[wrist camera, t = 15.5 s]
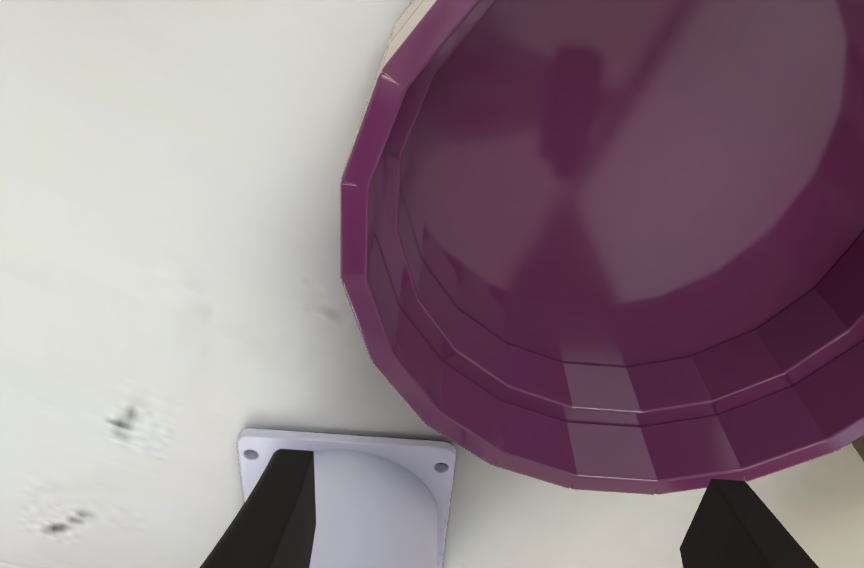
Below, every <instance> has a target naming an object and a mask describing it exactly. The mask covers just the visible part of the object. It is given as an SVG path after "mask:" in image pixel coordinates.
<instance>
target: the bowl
mask: <svg viewBox="0 0 864 568" xmlns="http://www.w3.org/2000/svg"><path fill="white" fill-rule="evenodd" d="M340 278H341V280H342V284H343V287H344V290H345V292H346V295H347V298H348V300H349V303H350V305H351V308H352V311H353V313H354V316H355V319H356V321H357V324H358V327H359V329H360V332H361V334H362V337H363V340H364V342H365V345H366V348H367V350H368V353H369V356H370V358H371V360H373V363H374V364H375V366H376V367H377V368H378V369H379V370H380V371H381V373H382V374H383V375H384V376H385V377H386V378H387V380H388V381H389V382H390V383H391V384H392V385H393V387H394V388H395V389H396V390H397V391H398V393H399V394H400V395H401V396H402V397H403V398H404V400H405V401H406V402H407V403H408V404H409V405H410V407H411V408H412V409H413V410H414V411H415V412H416V414H417V415H418V416H419V417H420V418H421V419H422V421H424V422H425V424H427V425H428V426H430V427H431V428H433V429H435V430H436V431H438V432H439V433H441V434H443V435H444V436H446V437H447V438H449V439H451V440H452V441H454V442H455V443H457V444H459V445H460V446H462V447H463V448H465V449H467V450H468V451H470V452H471V453H473V454H475V455H476V456H478V457H479V458H481V459H483V460H484V461H486V462H487V463H489V464H491V465H492V464H493V465H494V466H496V467H500V468H503V469H506V470H510V471H513V472H516V473H519V474H523V475H526V476H529V477H533V478H536V479H539V480H542V481H546V482H549V483H552V484H555V485H559V486H562V487H565V488H571V489H577V490H592V491H607V492H622V493H636V494H651V495H654V494H655V493H656V494H665V493H672V492H680V491H687V490H694V489H701V488H707V487H708V485H709V483H710V480H711V479H723V480H737V481H746V482H748V481H751V480H754V479H757V478H760V477H763V476H766V475H768V474H771V473H774V472H777V471H780V470H783V469H786V468H789V467H792V466H795V465H798V464H800V463H803V462H806V461H809V460H812V459H815V458H818V457H821V456H824V455H827V454H830V453H832V452H834V450H835V451H837V450H839V449H841V448H843V447H844V446H846V445H848V444H850V443H851V442H853V441H855V440H857V439H858V438H860V437H862V436H863V435H864V0H413V1H412V3H411V4H410V5H409V7H408V8H407V9H406V10H405V12H404V13H403V14H402V16H401V17H400V18H399V19H398V21H397V22H396V25H395V27H394V28H393V31H392V34H391V37H390V39H389V42H388V45H387V48H386V50H385V53H384V56H383V59H382V62H381V64H380V67H379V70H378V73H377V75H376V78H375V81H374V84H373V87H372V89H371V92H370V95H369V98H368V101H367V103H366V106H365V109H364V112H363V115H362V118H361V121H360V124H359V127H358V130H357V133H356V136H355V139H354V142H353V145H352V148H351V151H350V154H349V157H348V160H347V163H346V166H345V169H344V172H343V175H342V180H341V183H340Z"/></svg>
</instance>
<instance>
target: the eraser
mask: <svg viewBox="0 0 864 568" xmlns="http://www.w3.org/2000/svg"><path fill="white" fill-rule="evenodd" d="M851 443H852V445H853V446H854V448H855V449H856V451H857V452H858V454H859V455H860V456H861V458H862V459H863V461H864V435H863V436H862V437H860V438H858V439H857V440H855V441H853V442H851Z"/></svg>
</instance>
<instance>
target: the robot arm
mask: <svg viewBox="0 0 864 568" xmlns="http://www.w3.org/2000/svg"><path fill="white" fill-rule="evenodd" d="M237 450H238V458H239V466H240V474H241V483H242V491H243V499H244V505H243V506H242V508H241V509H240V511H239V513H238V514H237V516H236V517H235V519H234V520H233V521H232V523H231V524H230V526H229V527H228V529H227V530H226V532H225V533H224V535H223V536H222V537H221V539H220V540H219V542H218V543H217V545H216V546H215V548H214V549H213V550H212V552H211V553H210V555H209V556H208V557H207V559H206V560H205V561H204V563H203V564H202V565H201V567H200V568H442V560H443V553H444V545H445V538H446V530H447V523H448V515H449V508H450V500H451V493H452V485H453V478H454V470H455V463H456V448H455V447H454V446H453V445H452V444H450V443H448V442H444V441H429V440H415V439H400V438H386V437H371V436H357V435H342V434H328V433H313V432H299V431H284V430H270V429H255V428H249V429H244V430H242V431H241V432H240V433H239V436H238V439H237ZM250 450H254V451H256V452H254V451H250ZM438 463H445V464H438ZM680 552H681V557H682V563H683V568H819V567H818V566H817V565H816V564H815V563H814V562H813V560H812V559H811V558H810V557H809V556H808V555H807V553H806V552H805V551H804V550H803V549H802V548H801V546H800V545H799V544H798V543H797V542H796V541H795V539H794V538H793V537H792V536H791V535H790V534H789V532H788V531H787V530H786V529H785V528H784V527H783V525H782V524H781V523H780V522H779V521H778V519H777V518H776V517H775V516H774V515H773V514H772V512H771V511H770V510H769V509H768V508H767V506H766V505H765V504H764V503H763V502H762V501H761V499H760V498H759V497H758V496H757V495H756V493H755V492H754V491H753V490H752V489H751V488H750V487H749V485H748V484H747V483H746V482H745V481H737V480H723V479H711V480H710V483H709V485H708V487H707V489H706V491H705V494H704V496H703V498H702V500H701V503H700V505H699V507H698V509H697V511H696V514H695V516H694V518H693V520H692V522H691V525H690V527H689V529H688V531H687V534H686V536H685V538H684V540H683V542H682V545H681V547H680Z"/></svg>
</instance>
